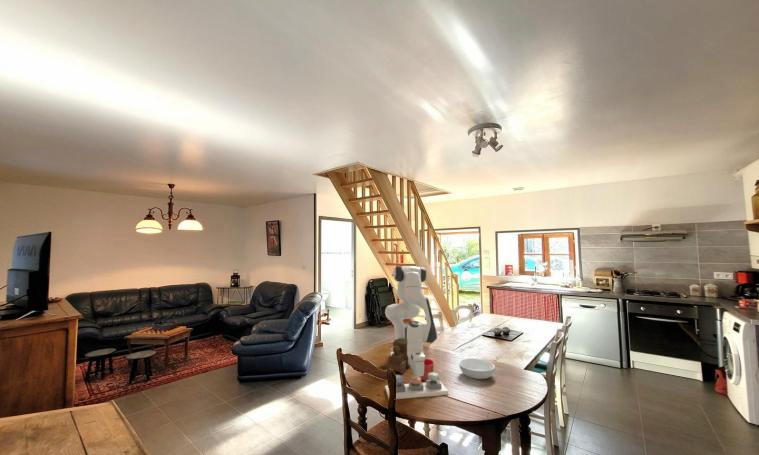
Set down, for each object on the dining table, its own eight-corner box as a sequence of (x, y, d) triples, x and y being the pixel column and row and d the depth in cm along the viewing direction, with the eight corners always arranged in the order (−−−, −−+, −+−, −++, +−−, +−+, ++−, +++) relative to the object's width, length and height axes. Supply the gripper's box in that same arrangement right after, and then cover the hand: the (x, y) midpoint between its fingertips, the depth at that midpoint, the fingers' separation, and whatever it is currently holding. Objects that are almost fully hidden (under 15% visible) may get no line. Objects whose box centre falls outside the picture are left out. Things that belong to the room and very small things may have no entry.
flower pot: (420, 383, 176) (420, 366, 177) (413, 375, 187) (413, 359, 188) (437, 380, 179) (436, 363, 180) (429, 373, 190) (429, 357, 190)
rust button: (409, 385, 168) (409, 376, 169) (419, 384, 169) (419, 376, 169) (412, 389, 163) (412, 381, 163) (422, 389, 164) (422, 380, 164)
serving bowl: (498, 384, 173) (497, 372, 174) (460, 382, 177) (459, 369, 178) (492, 370, 194) (491, 359, 194) (458, 368, 198) (458, 357, 198)
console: (385, 389, 169) (385, 380, 170) (440, 384, 174) (440, 376, 174) (389, 399, 158) (388, 390, 158) (448, 394, 162) (447, 385, 162)
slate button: (391, 383, 167) (391, 375, 167) (401, 383, 168) (401, 374, 168) (393, 388, 161) (393, 379, 162) (404, 387, 162) (403, 378, 163)
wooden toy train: (398, 362, 209) (397, 337, 211) (413, 365, 204) (413, 339, 205) (385, 373, 192) (384, 345, 193) (401, 376, 187) (401, 348, 188)
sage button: (427, 381, 170) (426, 372, 170) (436, 380, 171) (436, 372, 171) (430, 385, 164) (430, 376, 165) (440, 384, 165) (439, 376, 165)
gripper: (405, 346, 177) (405, 371, 176) (414, 359, 157) (414, 386, 156) (415, 346, 178) (416, 370, 177) (426, 358, 158) (426, 386, 157)
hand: (415, 378), depth 166 cm, fingers closed
